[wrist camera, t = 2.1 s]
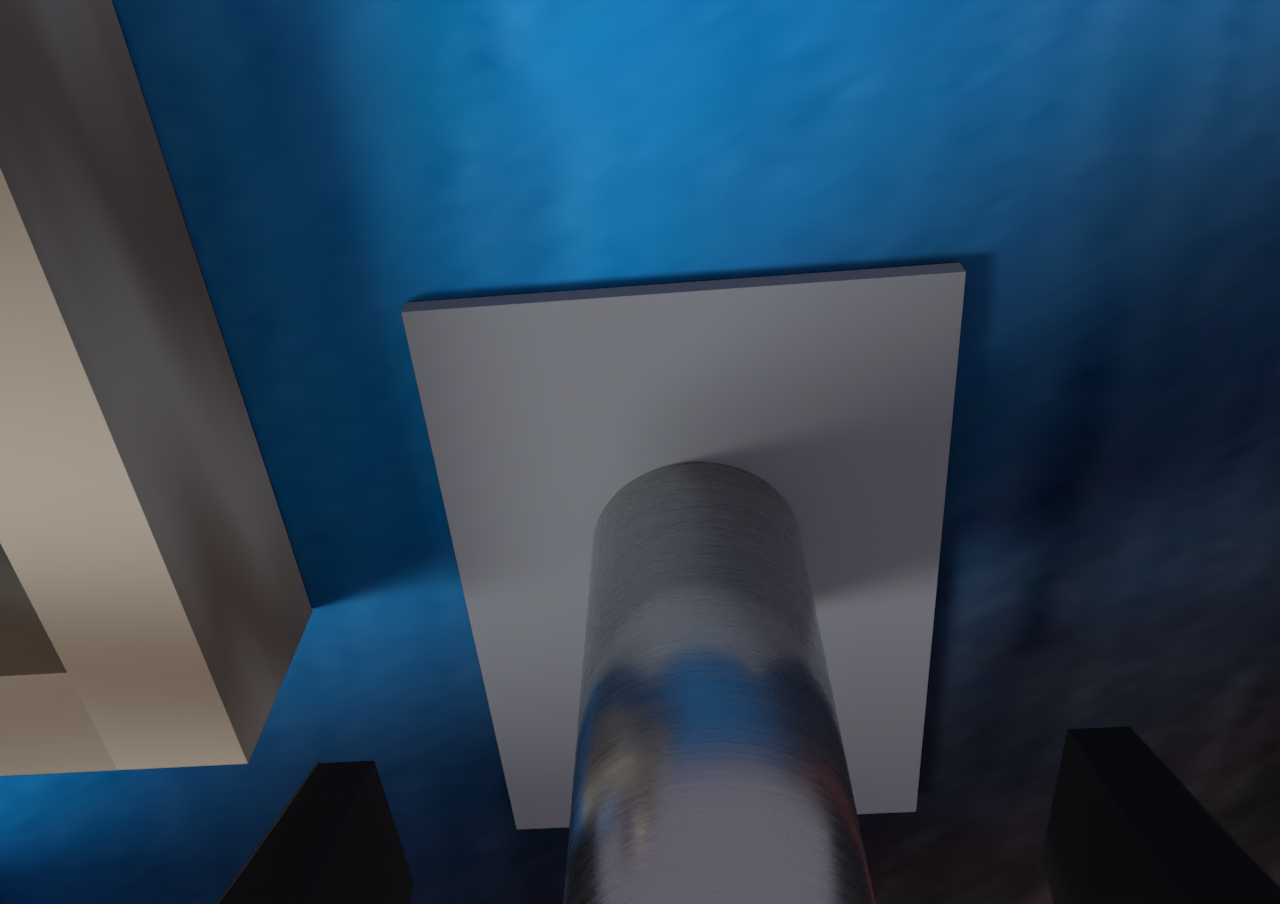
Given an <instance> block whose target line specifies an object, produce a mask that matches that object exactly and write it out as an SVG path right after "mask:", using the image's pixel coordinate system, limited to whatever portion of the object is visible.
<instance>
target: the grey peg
mask: <svg viewBox="0 0 1280 904" xmlns="http://www.w3.org/2000/svg"><path fill="white" fill-rule="evenodd" d="M563 904H875V899H874V894H873V889H872V884H871V879H870V874H869V870H868V865H867V860H866V855H865V850H864V845H863V840H862V835H861V830H860V825H859V820H858V815H857V811H856V806H855V801H854V796H853V791H852V786H851V781H850V776H849V771H848V766H847V761H846V756H845V751H844V747H843V742H842V737H841V732H840V727H839V722H838V717H837V712H836V707H835V702H834V697H833V692H832V688H831V683H830V678H829V673H828V668H827V663H826V658H825V653H824V648H823V643H822V638H821V633H820V628H819V624H818V619H817V614H816V609H815V604H814V599H813V594H812V589H811V584H810V579H809V574H808V569H807V565H806V560H805V555H804V550H803V545H802V540H801V535H800V530H799V526H798V523H797V520H796V517H795V515H794V513H793V511H792V509H791V507H790V506H789V504H788V503H787V501H786V500H785V499H784V498H783V496H782V495H781V494H780V493H779V492H778V491H777V490H776V489H775V488H773V487H772V486H771V485H770V484H769V483H767V482H766V481H764V480H763V479H761V478H760V477H758V476H756V475H754V474H752V473H750V472H748V471H746V470H743V469H740V468H737V467H734V466H730V465H725V464H721V463H713V462H685V463H677V464H672V465H668V466H664V467H660V468H658V469H655V470H652V471H649V472H647V473H645V474H643V475H641V476H639V477H637V478H636V479H634V480H633V481H631V482H630V483H628V484H626V485H625V486H624V487H623V488H622V489H621V490H619V491H618V492H617V493H616V494H615V495H614V496H613V497H612V499H611V500H610V501H609V502H608V503H607V505H606V506H605V508H604V509H603V511H602V513H601V515H600V517H599V519H598V521H597V524H596V528H595V531H594V536H593V546H592V558H591V570H590V582H589V594H588V607H587V619H586V631H585V643H584V655H583V668H582V680H581V692H580V704H579V717H578V729H577V741H576V753H575V765H574V778H573V790H572V802H571V814H570V827H569V839H568V851H567V863H566V875H565V888H564V900H563Z"/></svg>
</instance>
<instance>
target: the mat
mask: <svg viewBox="0 0 1280 904" xmlns="http://www.w3.org/2000/svg"><path fill="white" fill-rule="evenodd" d="M965 277H966V271H965V270H964V268H963V267H962V265H961V264H960V263H946V264H932V265H918V266H904V267H891V268H877V269H863V270H849V271H835V272H821V273H808V274H794V275H780V276H766V277H752V278H738V279H725V280H711V281H697V282H683V283H669V284H655V285H642V286H628V287H614V288H600V289H586V290H572V291H559V292H545V293H531V294H517V295H503V296H489V297H475V298H462V299H448V300H434V301H420V302H406V303H405V305H404V307H403V310H402V312H401V314H402V318H403V323H404V327H405V332H406V336H407V341H408V345H409V350H410V354H411V359H412V363H413V368H414V372H415V377H416V381H417V386H418V390H419V395H420V399H421V404H422V408H423V412H424V417H425V421H426V426H427V430H428V435H429V439H430V444H431V448H432V453H433V457H434V462H435V466H436V471H437V475H438V480H439V484H440V489H441V493H442V498H443V502H444V506H445V511H446V515H447V520H448V524H449V529H450V533H451V538H452V542H453V547H454V551H455V556H456V560H457V565H458V569H459V574H460V578H461V583H462V587H463V592H464V596H465V600H466V605H467V609H468V614H469V618H470V623H471V627H472V632H473V636H474V641H475V645H476V650H477V654H478V659H479V663H480V668H481V672H482V677H483V681H484V685H485V690H486V694H487V699H488V703H489V708H490V712H491V717H492V721H493V726H494V730H495V735H496V739H497V744H498V748H499V753H500V757H501V762H502V766H503V771H504V775H505V779H506V784H507V788H508V793H509V797H510V802H511V806H512V811H513V815H514V820H515V824H516V829H517V830H518V829H540V828H563V827H570V814H571V802H572V790H573V778H574V765H575V753H576V741H577V729H578V717H579V704H580V692H581V680H582V668H583V655H584V643H585V631H586V619H587V607H588V594H589V582H590V570H591V558H592V546H593V536H594V531H595V528H596V524H597V521H598V519H599V517H600V515H601V513H602V511H603V509H604V508H605V506H606V505H607V503H608V502H609V501H610V500H611V499H612V497H613V496H614V495H615V494H616V493H617V492H618V491H619V490H621V489H622V488H623V487H624V486H625V485H626V484H628V483H630V482H631V481H633V480H634V479H636V478H637V477H639V476H641V475H643V474H645V473H647V472H649V471H652V470H655V469H658V468H660V467H664V466H668V465H672V464H677V463H685V462H713V463H721V464H725V465H730V466H734V467H737V468H740V469H743V470H746V471H748V472H750V473H752V474H754V475H756V476H758V477H760V478H761V479H763V480H764V481H766V482H767V483H769V484H770V485H771V486H772V487H773V488H775V489H776V490H777V491H778V492H779V493H780V494H781V495H782V496H783V498H784V499H785V500H786V501H787V503H788V504H789V506H790V507H791V509H792V511H793V513H794V515H795V517H796V520H797V523H798V526H799V530H800V535H801V540H802V545H803V550H804V555H805V560H806V565H807V569H808V574H809V579H810V584H811V589H812V594H813V599H814V604H815V609H816V614H817V619H818V624H819V628H820V633H821V638H822V643H823V648H824V653H825V658H826V663H827V668H828V673H829V678H830V683H831V688H832V692H833V697H834V702H835V707H836V712H837V717H838V722H839V727H840V732H841V737H842V742H843V747H844V751H845V756H846V761H847V766H848V771H849V776H850V781H851V786H852V791H853V796H854V801H855V806H856V811H857V814H874V813H896V812H916V806H917V795H918V784H919V773H920V762H921V752H922V741H923V730H924V719H925V708H926V698H927V687H928V676H929V665H930V655H931V644H932V633H933V622H934V611H935V601H936V590H937V579H938V568H939V557H940V547H941V536H942V525H943V514H944V503H945V493H946V482H947V471H948V460H949V450H950V439H951V428H952V417H953V406H954V396H955V385H956V374H957V363H958V352H959V342H960V331H961V320H962V309H963V299H964V288H965Z"/></svg>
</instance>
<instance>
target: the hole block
mask: <svg viewBox="0 0 1280 904" xmlns="http://www.w3.org/2000/svg"><path fill="white" fill-rule="evenodd" d="M311 613H312V608H311V605H310V602H309V599H308V596H307V593H306V590H305V587H304V584H303V581H302V578H301V575H300V572H299V569H298V566H297V563H296V560H295V556H294V553H293V550H292V547H291V544H290V541H289V538H288V535H287V532H286V529H285V526H284V523H283V520H282V517H281V514H280V511H279V508H278V505H277V502H276V499H275V496H274V493H273V490H272V487H271V483H270V480H269V477H268V474H267V471H266V468H265V465H264V462H263V459H262V456H261V453H260V450H259V447H258V444H257V441H256V438H255V435H254V432H253V429H252V426H251V423H250V420H249V417H248V413H247V410H246V407H245V404H244V401H243V398H242V395H241V392H240V389H239V386H238V383H237V380H236V377H235V374H234V371H233V368H232V365H231V362H230V359H229V356H228V353H227V350H226V347H225V344H224V340H223V337H222V334H221V331H220V328H219V325H218V322H217V319H216V316H215V313H214V310H213V307H212V304H211V301H210V298H209V295H208V292H207V289H206V286H205V283H204V280H203V277H202V274H201V271H200V267H199V264H198V261H197V258H196V255H195V252H194V249H193V246H192V243H191V240H190V237H189V234H188V231H187V228H186V225H185V222H184V219H183V216H182V213H181V210H180V207H179V204H178V201H177V197H176V194H175V191H174V188H173V185H172V182H171V179H170V176H169V173H168V170H167V167H166V164H165V161H164V158H163V155H162V152H161V149H160V146H159V143H158V140H157V137H156V134H155V131H154V128H153V124H152V121H151V118H150V115H149V112H148V109H147V106H146V103H145V100H144V97H143V94H142V91H141V88H140V85H139V82H138V79H137V76H136V73H135V70H134V67H133V64H132V61H131V58H130V55H129V51H128V48H127V45H126V42H125V39H124V36H123V33H122V30H121V27H120V24H119V21H118V18H117V15H116V12H115V9H114V6H113V3H112V0H0V776H8V775H28V774H49V773H69V772H90V771H110V770H130V769H151V768H171V767H192V766H212V765H232V764H248V762H249V760H250V758H251V755H252V753H253V750H254V748H255V746H256V743H257V741H258V739H259V736H260V734H261V732H262V729H263V727H264V724H265V722H266V720H267V717H268V715H269V713H270V710H271V708H272V706H273V703H274V701H275V698H276V696H277V694H278V691H279V689H280V687H281V684H282V682H283V680H284V677H285V675H286V672H287V670H288V668H289V665H290V663H291V661H292V658H293V656H294V654H295V651H296V649H297V646H298V644H299V642H300V639H301V637H302V635H303V632H304V630H305V627H306V625H307V623H308V620H309V618H310V616H311Z"/></svg>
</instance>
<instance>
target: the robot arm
mask: <svg viewBox="0 0 1280 904" xmlns="http://www.w3.org/2000/svg"><path fill="white" fill-rule="evenodd" d="M1042 859H1043V863H1044V867H1045V871H1046V874H1047V878H1048V882H1049V886H1050V890H1051V893H1052V897H1053V901H1054V904H1280V886H1279V885H1278V884H1277V883H1276V882H1275V881H1274V880H1273V879H1272V878H1271V877H1270V876H1269V875H1268V874H1267V873H1266V872H1265V871H1264V870H1263V869H1262V868H1261V867H1260V866H1259V865H1258V864H1257V863H1256V862H1255V861H1254V859H1253V858H1252V857H1251V856H1250V855H1249V854H1248V853H1247V852H1246V851H1245V850H1244V849H1243V848H1242V847H1241V846H1240V845H1239V844H1238V843H1237V842H1236V841H1235V840H1234V838H1233V837H1232V836H1231V835H1230V834H1229V833H1228V832H1227V831H1226V830H1225V829H1224V828H1223V827H1222V826H1221V825H1220V824H1219V823H1218V821H1217V820H1216V819H1215V818H1214V817H1213V816H1212V815H1211V814H1210V813H1209V812H1208V811H1207V810H1206V809H1205V808H1204V806H1203V805H1202V804H1201V803H1200V802H1199V801H1198V800H1197V799H1196V798H1195V797H1194V796H1193V795H1192V793H1191V792H1190V791H1189V790H1188V789H1187V788H1186V787H1185V786H1184V785H1183V784H1182V783H1181V781H1180V780H1179V779H1178V778H1177V777H1176V776H1175V775H1174V774H1173V773H1172V772H1171V770H1170V769H1169V768H1168V767H1167V766H1166V765H1165V764H1164V763H1163V762H1162V761H1161V759H1160V758H1159V757H1158V756H1157V755H1156V754H1155V753H1154V752H1153V751H1152V750H1151V748H1150V747H1149V746H1148V745H1147V744H1146V743H1145V742H1144V741H1143V740H1142V739H1141V738H1140V736H1139V735H1138V734H1137V733H1135V732H1134V731H1133V730H1132V729H1131V728H1130V727H1111V728H1089V729H1068V730H1067V735H1066V740H1065V745H1064V750H1063V755H1062V760H1061V765H1060V770H1059V775H1058V780H1057V785H1056V790H1055V795H1054V800H1053V805H1052V810H1051V815H1050V820H1049V825H1048V830H1047V835H1046V840H1045V845H1044V850H1043V855H1042ZM412 884H413V880H412V877H411V874H410V871H409V868H408V865H407V862H406V858H405V855H404V852H403V849H402V846H401V843H400V840H399V837H398V834H397V830H396V827H395V824H394V821H393V818H392V815H391V812H390V809H389V806H388V802H387V799H386V796H385V793H384V790H383V787H382V784H381V781H380V778H379V774H378V771H377V768H376V765H375V762H374V761H359V762H337V763H318V764H317V765H316V766H315V767H314V768H313V769H312V770H311V771H310V772H309V774H308V775H307V777H306V778H305V780H304V781H303V782H302V784H301V785H300V787H299V788H298V790H297V791H296V792H295V794H294V795H293V797H292V798H291V800H290V801H289V802H288V804H287V805H286V807H285V808H284V810H283V811H282V812H281V814H280V815H279V817H278V818H277V820H276V821H275V822H274V824H273V825H272V827H271V828H270V830H269V831H268V832H267V834H266V835H265V837H264V838H263V840H262V841H261V842H260V844H259V845H258V847H257V848H256V849H255V851H254V852H253V854H252V855H251V856H250V858H249V859H248V860H247V862H246V863H245V865H244V866H243V867H242V869H241V870H240V872H239V873H238V874H237V876H236V877H235V878H234V880H233V881H232V883H231V884H230V885H229V887H228V888H227V889H226V891H225V892H224V893H223V895H222V896H221V897H220V899H219V900H218V901H217V903H216V904H410V899H411V892H412Z"/></svg>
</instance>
